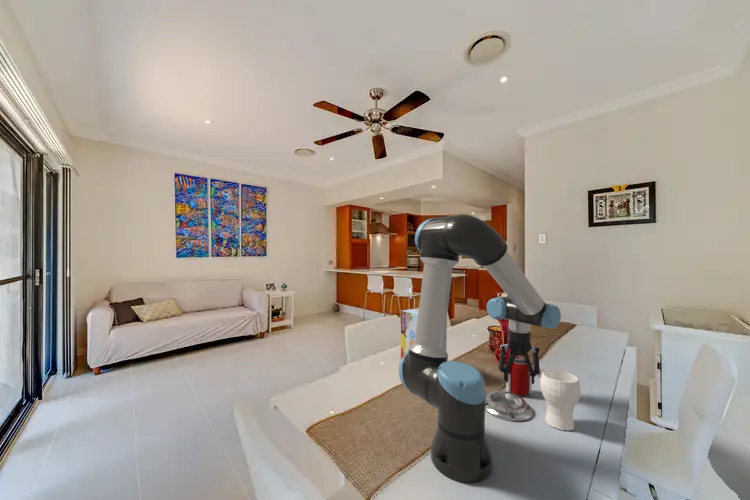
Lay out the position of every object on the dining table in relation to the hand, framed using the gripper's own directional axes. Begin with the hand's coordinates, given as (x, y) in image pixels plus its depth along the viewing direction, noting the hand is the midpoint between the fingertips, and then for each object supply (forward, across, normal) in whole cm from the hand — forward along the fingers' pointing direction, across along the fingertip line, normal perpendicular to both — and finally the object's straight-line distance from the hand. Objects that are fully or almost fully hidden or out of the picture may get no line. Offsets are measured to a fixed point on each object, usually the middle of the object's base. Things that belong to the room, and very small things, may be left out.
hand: (518, 390), depth 111 cm
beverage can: (+1, 0, 0) cm, 1 cm away
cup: (+1, -6, +19) cm, 20 cm away
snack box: (+1, +36, -15) cm, 39 cm away
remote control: (+1, -15, -19) cm, 25 cm away
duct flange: (+1, +8, +12) cm, 14 cm away
